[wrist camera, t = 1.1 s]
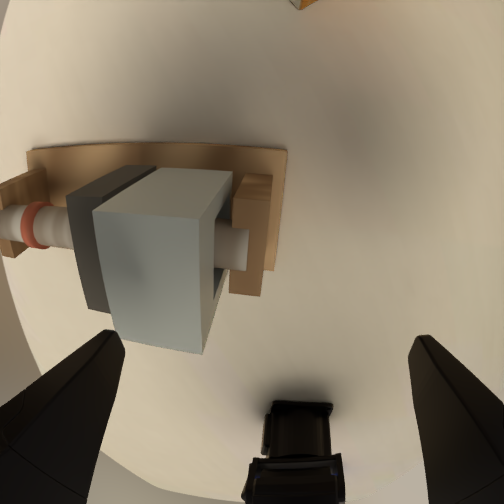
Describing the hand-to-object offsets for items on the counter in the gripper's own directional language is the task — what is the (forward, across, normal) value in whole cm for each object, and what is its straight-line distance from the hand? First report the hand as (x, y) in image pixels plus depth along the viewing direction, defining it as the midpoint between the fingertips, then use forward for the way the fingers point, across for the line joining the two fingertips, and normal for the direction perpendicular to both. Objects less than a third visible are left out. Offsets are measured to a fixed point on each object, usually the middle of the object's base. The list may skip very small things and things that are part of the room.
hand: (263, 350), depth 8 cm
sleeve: (+10, +4, 0) cm, 11 cm away
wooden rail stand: (+13, +10, 0) cm, 16 cm away
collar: (+10, +8, 0) cm, 13 cm away
